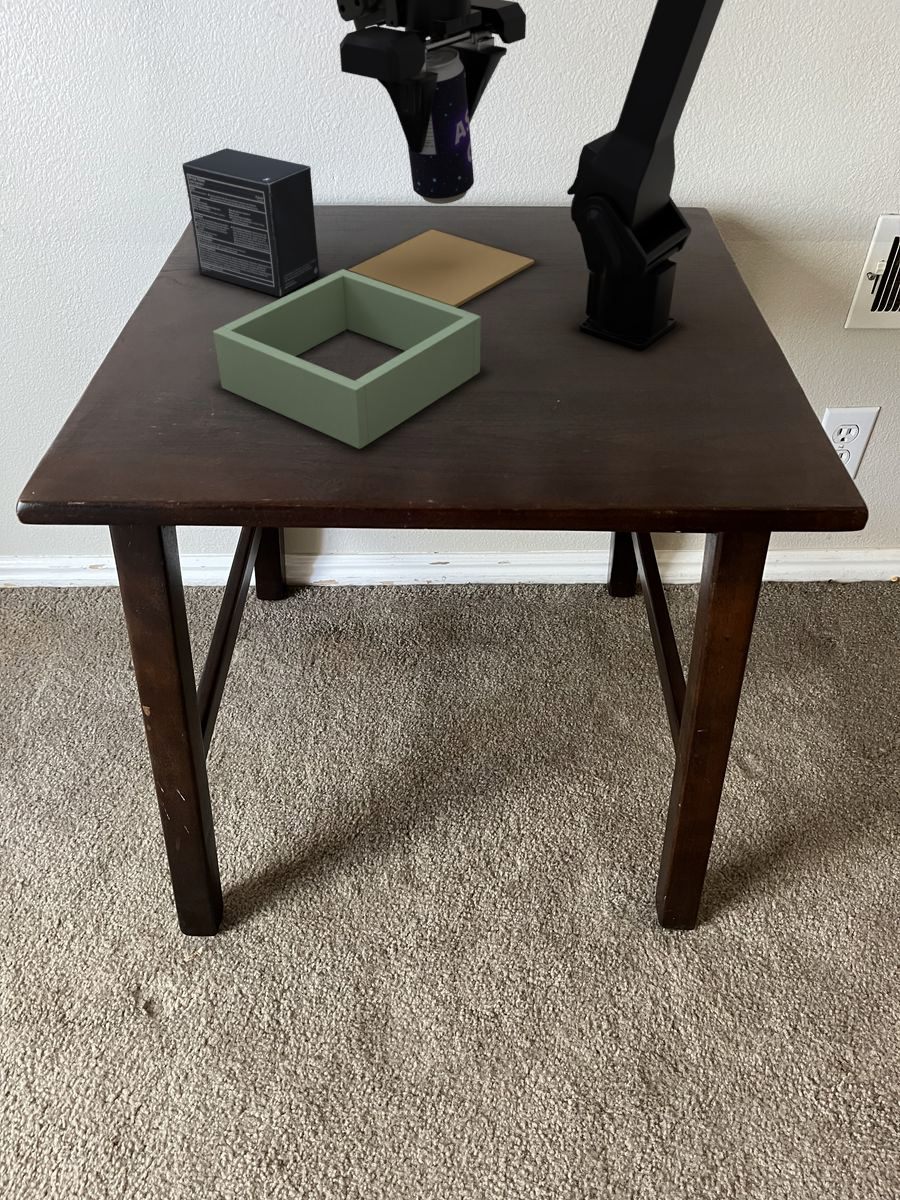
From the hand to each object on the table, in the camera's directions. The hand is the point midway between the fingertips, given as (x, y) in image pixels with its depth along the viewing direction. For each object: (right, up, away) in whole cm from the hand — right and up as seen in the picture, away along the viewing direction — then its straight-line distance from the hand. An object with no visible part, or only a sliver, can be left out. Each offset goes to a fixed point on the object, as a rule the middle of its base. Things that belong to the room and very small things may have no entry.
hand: (438, 143), depth 93 cm
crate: (-7, -23, -8) cm, 25 cm away
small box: (-17, -10, +8) cm, 21 cm away
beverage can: (+1, -3, +3) cm, 5 cm away
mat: (0, -8, +9) cm, 12 cm away
